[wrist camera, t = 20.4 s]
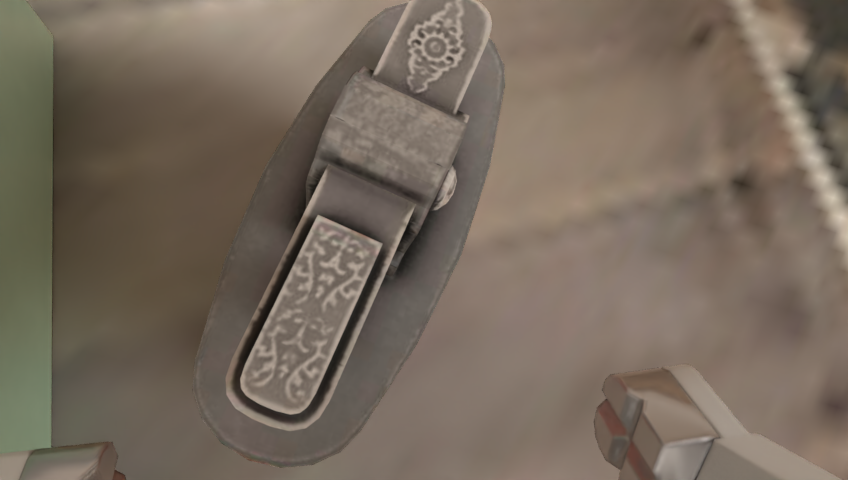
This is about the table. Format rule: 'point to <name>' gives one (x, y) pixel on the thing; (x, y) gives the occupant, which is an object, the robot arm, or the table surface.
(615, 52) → the table surface
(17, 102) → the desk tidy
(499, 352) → the table surface
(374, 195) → the lighter
